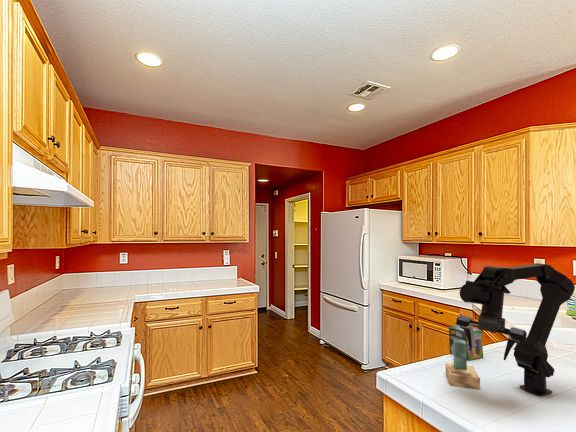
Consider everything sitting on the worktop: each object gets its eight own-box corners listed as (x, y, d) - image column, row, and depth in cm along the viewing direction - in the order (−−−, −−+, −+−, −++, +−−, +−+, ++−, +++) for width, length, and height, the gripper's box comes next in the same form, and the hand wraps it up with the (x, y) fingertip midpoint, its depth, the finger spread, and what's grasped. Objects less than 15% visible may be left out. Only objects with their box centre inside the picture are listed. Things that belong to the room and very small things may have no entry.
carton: (473, 376, 117) (473, 366, 118) (480, 389, 108) (479, 378, 108) (445, 372, 120) (445, 363, 120) (450, 384, 111) (449, 374, 111)
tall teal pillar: (466, 366, 117) (465, 338, 118) (470, 375, 110) (469, 345, 110) (447, 364, 119) (447, 337, 119) (450, 372, 112) (450, 343, 112)
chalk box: (483, 358, 134) (483, 321, 135) (467, 361, 131) (466, 323, 132) (464, 350, 143) (463, 316, 144) (448, 353, 140) (448, 318, 140)
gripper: (454, 300, 105) (449, 349, 104) (526, 315, 93) (521, 371, 92) (462, 298, 113) (457, 344, 112) (528, 312, 102) (524, 363, 100)
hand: (487, 354), depth 104 cm, fingers open, 9 cm apart
